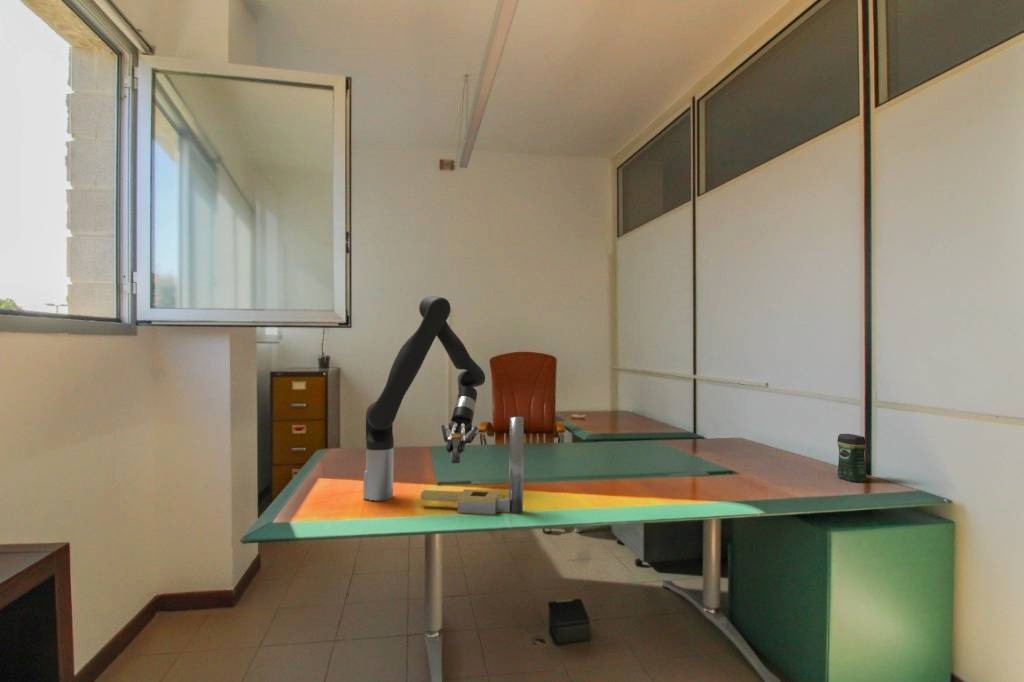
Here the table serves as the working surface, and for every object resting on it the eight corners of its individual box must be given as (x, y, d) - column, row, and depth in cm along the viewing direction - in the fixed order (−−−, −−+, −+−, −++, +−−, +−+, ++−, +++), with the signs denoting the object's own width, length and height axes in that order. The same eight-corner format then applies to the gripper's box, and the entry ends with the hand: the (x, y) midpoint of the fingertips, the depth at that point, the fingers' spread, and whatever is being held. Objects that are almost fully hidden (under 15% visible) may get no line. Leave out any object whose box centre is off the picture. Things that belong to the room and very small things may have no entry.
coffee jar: (870, 482, 203) (870, 435, 203) (854, 483, 201) (854, 436, 201) (849, 476, 212) (849, 432, 213) (833, 477, 210) (833, 432, 211)
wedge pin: (449, 462, 173) (450, 433, 173) (452, 460, 176) (452, 432, 176) (459, 463, 172) (460, 434, 172) (461, 461, 176) (462, 432, 176)
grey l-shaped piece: (418, 510, 162) (419, 416, 162) (426, 502, 171) (427, 413, 171) (520, 516, 157) (521, 419, 158) (524, 507, 166) (525, 416, 167)
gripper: (443, 404, 183) (432, 444, 171) (481, 406, 181) (473, 446, 169) (446, 417, 188) (436, 456, 176) (484, 419, 186) (476, 459, 174)
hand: (454, 451), depth 172 cm, fingers closed on wedge pin, 3 cm apart
